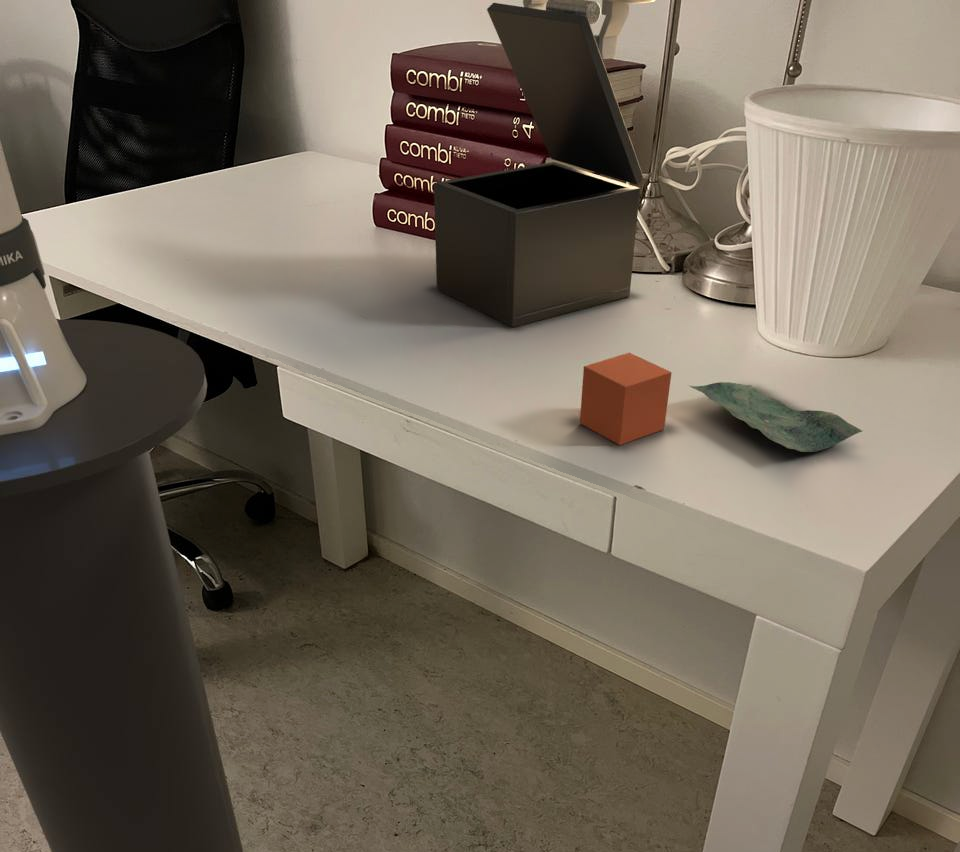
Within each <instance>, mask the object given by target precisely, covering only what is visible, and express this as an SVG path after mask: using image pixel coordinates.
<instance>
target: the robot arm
mask: <svg viewBox="0 0 960 852" xmlns="http://www.w3.org/2000/svg"><path fill="white" fill-rule="evenodd" d="M547 1H548V0H522V5H523V7H527V8H534V9H540V10H546V4H547ZM601 1H602V2H601V15H603V16H605V17H604V19H603V22H602V24H601V28H600V30H599V34H593V35H594V38H595V41H596V43H597V46H598V49H599V52H600V55H601V58H602V60H608V59H614V58H615V57H616V56H617V55H616V54H617V46H618V37H619V36H620V34H621V31H622V30H623V27H624V26H625V23H626V21H627V19H628V17H629V15H630V5H631V4H645V3H653V2H655V1H656V0H601ZM42 261H43V260H42V258H41V254H40V250H39V247H38V243H37V240H36V236H35V235H34V231H33V230H32V228H31V225H30V223H29V220H28V219H27V218H26V217H24V216H23V215H22V212H21V209H20V205H19V202H18V198H17V195H16V192H15V187H14V184H13V181H12V177H11V173H10V170H9V166H8V162H7V158H6V155H5V152H4V148H3V144H2V141H1V139H0V435H6V434H11V433H17V432H23V431H28V430H33V429H36V428H39V427H41V426H42V425H44V424H45V423H46V422H47V421H48V419H49V418H50V417H51V415H52V414H53V412H54V411H55V410H57V409H58V408H60V407H61V406H63V405H65V404H66V403H68V402H69V401H71V400H72V399H74V398H75V397H76V396H77V395H78V394H79V393H80V392H81V391H82V390H83V389H84V387H85V385H86V381H87V378H86V375H85V373H84V371H83V370H82V368H81V367H80V365H79V364H78V362H77V360H76V358H75V357H74V355H73V353H72V351H71V349H70V347H69V346H68V344H67V342H66V340H65V338H64V335H63V333H62V331H61V329H60V327H59V325H58V322H57V320H58V319H57V317H56V315H55V313H54V311H53V308H52V306H51V302H50V300H49V298H48V294H47V292H46V288H47V287H46V286H47V284H46V283H47V282H46V279H45V275H46V274H45V269H44V266H43V265H44V264H43V262H42Z"/></svg>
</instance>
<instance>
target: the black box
mask: <svg viewBox="0 0 960 852" xmlns="http://www.w3.org/2000/svg"><path fill="white" fill-rule="evenodd" d="M640 193H641V188H640V187H638V186H635V185H631V184H629V183H626V182H625V183H624V182H622V181H620V180H615V179H612V178H609V177H606V176H602V175H598V174H597V173H596V174H595V173H592V172H589V171H587V170H582V169H580V168H576V167H574V166H573V167H572V166H569V165H567V164H564V163H563V164H562V163H560V162H556V161H551V162H545V163H538V164H534V165H528V166H522V167H516V168H510V169H505V170H500V171H492V172H488V173H482V174H476V175H475V174H474V175H470V176H464V177H459V178H453V179H448V180H447V179H446V180H442V181H436V182H435V181H434V182H433V200H434V201H433V202H434V204H433V205H434V235H435V236H434V237H435V238H434V239H435V272H436V273H435V275H436V279H435V280H436V291H439V292H441V293H443V294H445V295H447V296H449V297H451V298H453V299H455V300H457V301H459V302H460V303H463V304H465V305H466V306H468V307H471V308H473V309H475V310H476V311H479V312H481V313H482V314H485V315H487V316H489V317H491V318H493V319H496V320H497V321H499V322H501V323H502V324H505V325H507V326H509V327H511V328H516V327H520V326H524V325H527V324H532V323H535V322H538V321H543V320H545V319H550V318H554V317H557V316H560V315H564V314H569V313H571V312H572V313H573V312H576V311H580V310H583V309H587V308H590V307H594V306H595V307H596V306H599V305H601V304H606V303H609V302H613V301H617V300H620V299H624V298H629V297H630V295H631V285H632V276H633V265H634V256H635V246H636V235H637V227H638V225H637V224H638V215H639V206H640V205H639V204H640V195H641V194H640Z"/></svg>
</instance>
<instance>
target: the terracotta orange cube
mask: <svg viewBox="0 0 960 852" xmlns="http://www.w3.org/2000/svg"><path fill="white" fill-rule="evenodd" d="M582 371H583V372H582V385H581V386H582V387H581V399H580V400H581V401H580V415H579V424H580V425H582V426H584V427H585V428H587V429H590V430H591V431H593V432H595V433H597V434H598V435H600V436H602V437H604V438H606V439H608V440H609V441H611V442H613V443H614V444H616V445H618V446H621V445H625V444H627V443H630V442H633V441H635V440H638V439H641V438H643V437H647V436H650V435H653V434H655V433H658V432H661V431H664V430H665V426H666V419H667V410H668V404H669V403H668V402H669V396H670V395H669V394H670V389H671V380H672V371H670V370H668V369H666V368H664V367H662V366H659V365H657V364H655V363H652V362H651V361H648V360H646V359H644V358H642V357H640V356H638V355H635V354H633V353H632V352H626V353H623V354H620V355H616V356H613V357H609V358H606V359H604V360H600V361H596V362H594V363H590V364H587V365H584V366H583V370H582Z"/></svg>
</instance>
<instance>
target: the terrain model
mask: <svg viewBox="0 0 960 852" xmlns="http://www.w3.org/2000/svg"><path fill="white" fill-rule="evenodd" d="M687 386H688V387H690V388H692V389H694V390H696V391H697V392H700V393H702V394H704V395H705V396H706V397H707V398H708V399H709V400H710V401H713V402H714V403H715V404H719V405H720V406H722V407H724V409H726V410H727V411H728V412H729V413H730V414H731V415H732V416H733V417H735V418H736V419H738V420H740V421H744V422H745V423H746V425H748V426H749V427H751V428H752V429H757V430H758V431H760V432H761V433H762V434H763V435H764V436H765V437H766V438H767V439H769V440H771V441H773V442H774V443H776V444H779V445H781V446H783V447H785V448H786V449H789V450H796V451H798V452H802V453H809V452H812V453H813V452H815V453H816V452H819V451H823V450H825V449H828V448H831V447H833V446H835V445H837V444H839V443H841V442H844V441H845V440H847V439H849V438H851V437H852V436H855V435H857V434H859V433H862V432H863V430H862V429H861V428H858V427H857V426H855V425H853V424H851V423H849V421H846V420H845V419H844V418H842V416H839V415H838V414H835V413H832V412H829V411H824V410H813V409H812V410H809V409H806V410H796V409H793V408H790V407H788V406H787V405H786V404H785V403H783V402H782V401H780V400H778V399H775V398H773V397H769V396H766V395H765V394H763V393H762V392H761V391H759V390H757V389H756V388H755V387H754V386H752V385H751V384H743V383H742V384H741V383H737V382H730V381H728V382H724V381H719V382H714V383H713V382H712V383H708V384H706V385H699V386H698V385H697V386H694V385H688V384H687Z"/></svg>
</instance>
